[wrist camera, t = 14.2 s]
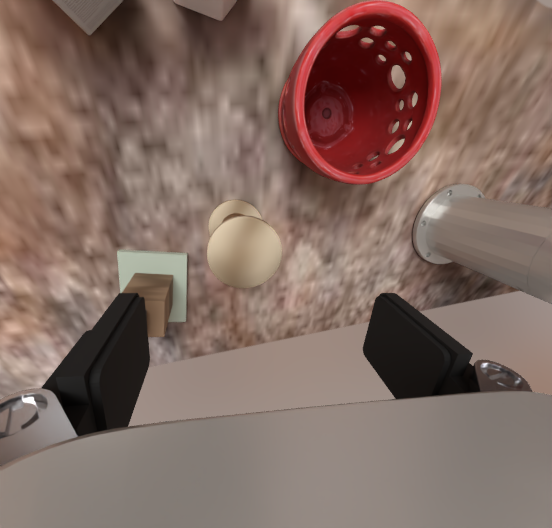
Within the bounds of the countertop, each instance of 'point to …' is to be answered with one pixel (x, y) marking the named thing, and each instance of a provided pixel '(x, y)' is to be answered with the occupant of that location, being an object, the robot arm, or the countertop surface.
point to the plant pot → (361, 94)
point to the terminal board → (157, 264)
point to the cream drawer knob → (242, 245)
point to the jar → (209, 7)
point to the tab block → (154, 299)
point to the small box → (88, 12)
